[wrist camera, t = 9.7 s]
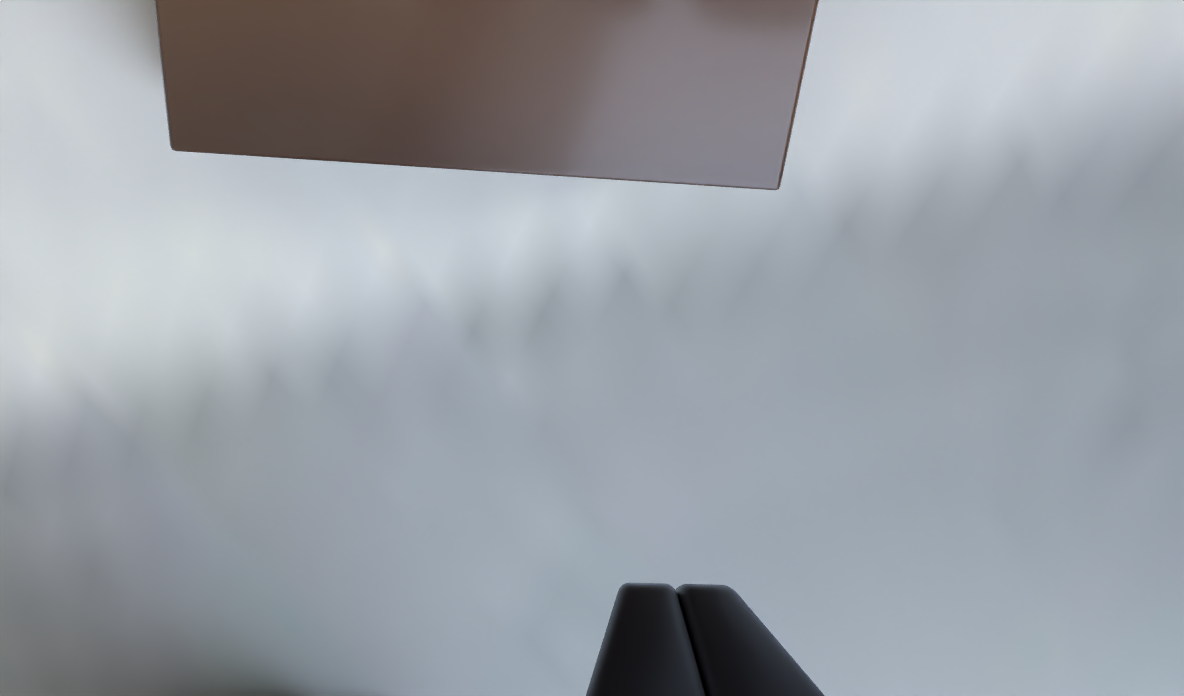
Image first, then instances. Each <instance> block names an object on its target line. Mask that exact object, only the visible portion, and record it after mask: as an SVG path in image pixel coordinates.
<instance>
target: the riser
mask: <svg viewBox="0 0 1184 696" xmlns="http://www.w3.org/2000/svg"><path fill="white" fill-rule="evenodd" d="M154 2H155V11H156V20H157V29H158V38H159V47H160V57H161V66H162V75H163V84H164V93H165V102H166V111H167V120H168V130H169V139H170V146H171V148H172V150H175V151H186V152H201V153H216V154H232V155H247V156H262V157H278V158H293V159H308V160H323V161H339V162H354V163H369V164H384V165H400V166H415V167H430V168H446V169H461V170H476V171H491V172H507V173H522V174H537V175H553V176H568V177H583V178H598V179H614V180H629V181H644V182H659V183H675V184H690V185H705V186H721V187H736V188H751V189H766V190H777V189H779V187H780V185H781V180H782V176H783V171H784V166H785V161H786V156H787V151H788V147H789V142H790V137H791V132H792V127H793V122H794V118H795V113H796V108H797V103H798V98H799V93H800V89H801V84H802V79H803V74H804V69H805V65H806V60H807V55H808V50H809V45H810V40H811V36H812V31H813V26H814V21H815V16H816V11H817V7H818V2H819V0H154Z"/></svg>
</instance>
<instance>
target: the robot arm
mask: <svg viewBox="0 0 1184 696" xmlns="http://www.w3.org/2000/svg"><path fill="white" fill-rule="evenodd" d="M586 696H824V695H823V693H822V692H821V691H820V690H819V689H818V687H817V686H816V685H815V684H814V683H813V682H812V680H811V679H810V678H809V677H808V676H807V675H806V673H805V672H804V671H803V670H802V669H801V668H800V666H799V665H798V664H797V663H796V662H795V661H794V659H793V658H792V657H791V656H790V655H789V654H788V652H787V651H786V650H785V649H784V648H783V646H782V645H781V644H780V643H779V642H778V641H777V639H776V638H775V637H774V636H773V635H772V634H771V632H770V631H769V630H768V629H767V628H766V627H765V625H764V624H763V623H762V622H761V621H760V620H759V618H758V617H757V616H756V615H755V614H754V613H753V611H752V610H751V609H750V608H749V607H748V606H747V604H746V603H745V602H744V601H743V600H742V598H741V597H740V596H739V595H738V594H737V593H736V592H735V591H734V590H733V589H731V588H730V587H728V586H725V585H702V584H684V585H681V586H679V587H678V588H677V589H676V590H675V589H674V588H673V587H672V586H670V585H669V584H657V583H625V584H624V585H622V586H621V587H620V589H619V591H618V594H617V597H616V600H615V603H614V607H613V610H612V613H611V616H610V620H609V623H608V626H607V629H606V632H605V636H604V639H603V642H602V645H601V649H600V652H599V655H598V658H597V662H596V665H595V668H594V671H593V675H592V678H591V681H590V684H589V687H588V691H587V694H586Z"/></svg>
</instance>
